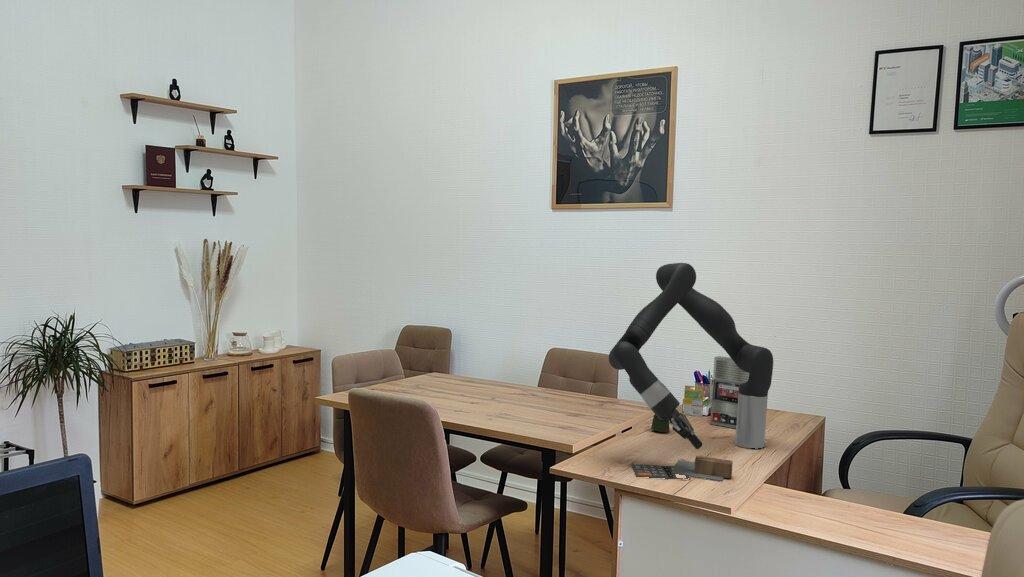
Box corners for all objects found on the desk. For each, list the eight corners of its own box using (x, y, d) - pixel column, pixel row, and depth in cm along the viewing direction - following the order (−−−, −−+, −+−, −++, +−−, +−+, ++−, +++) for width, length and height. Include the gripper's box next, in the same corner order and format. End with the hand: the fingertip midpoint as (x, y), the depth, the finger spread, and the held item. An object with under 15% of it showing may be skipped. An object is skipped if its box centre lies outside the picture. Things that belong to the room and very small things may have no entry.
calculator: (631, 463, 212) (682, 466, 212) (631, 466, 212) (682, 469, 212) (636, 475, 201) (691, 478, 200) (636, 479, 201) (690, 482, 200)
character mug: (670, 428, 259) (672, 392, 258) (679, 434, 252) (681, 397, 251) (641, 429, 256) (643, 392, 255) (650, 434, 249) (652, 397, 248)
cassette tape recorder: (709, 424, 268) (713, 357, 267) (714, 421, 273) (718, 356, 272) (746, 431, 260) (751, 362, 259) (751, 428, 265) (756, 360, 264)
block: (696, 455, 209) (732, 460, 206) (695, 469, 210) (731, 474, 206) (695, 459, 206) (731, 464, 202) (694, 472, 206) (730, 478, 202)
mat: (678, 461, 218) (678, 460, 218) (726, 468, 213) (726, 466, 213) (671, 474, 205) (671, 472, 205) (722, 481, 200) (722, 480, 200)
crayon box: (702, 415, 284) (704, 385, 283) (702, 416, 281) (704, 387, 280) (683, 413, 285) (684, 384, 285) (683, 414, 283) (684, 385, 282)
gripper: (665, 395, 203) (708, 444, 199) (672, 387, 215) (712, 434, 212) (645, 411, 205) (687, 460, 202) (653, 403, 218) (692, 449, 214)
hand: (700, 446), depth 207 cm, fingers closed
